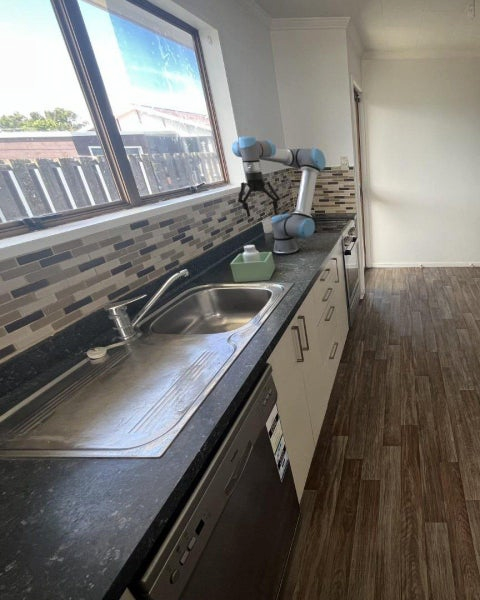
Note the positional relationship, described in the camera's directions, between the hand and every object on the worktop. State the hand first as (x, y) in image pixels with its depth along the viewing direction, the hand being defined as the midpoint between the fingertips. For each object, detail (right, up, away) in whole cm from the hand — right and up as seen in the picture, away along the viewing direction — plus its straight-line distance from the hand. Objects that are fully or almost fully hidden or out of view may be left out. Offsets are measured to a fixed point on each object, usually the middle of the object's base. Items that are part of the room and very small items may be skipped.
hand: (262, 215), depth 170 cm
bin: (-5, -31, +2) cm, 31 cm away
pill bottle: (-5, -30, +2) cm, 31 cm away
